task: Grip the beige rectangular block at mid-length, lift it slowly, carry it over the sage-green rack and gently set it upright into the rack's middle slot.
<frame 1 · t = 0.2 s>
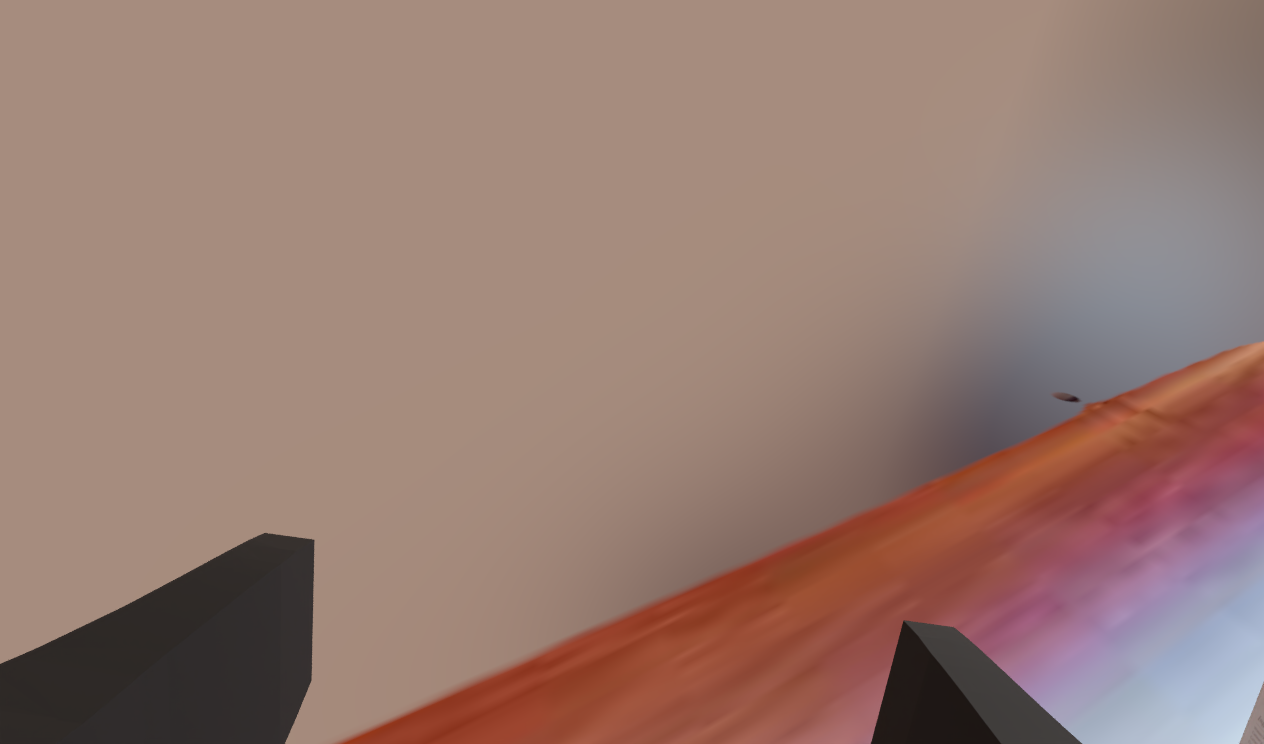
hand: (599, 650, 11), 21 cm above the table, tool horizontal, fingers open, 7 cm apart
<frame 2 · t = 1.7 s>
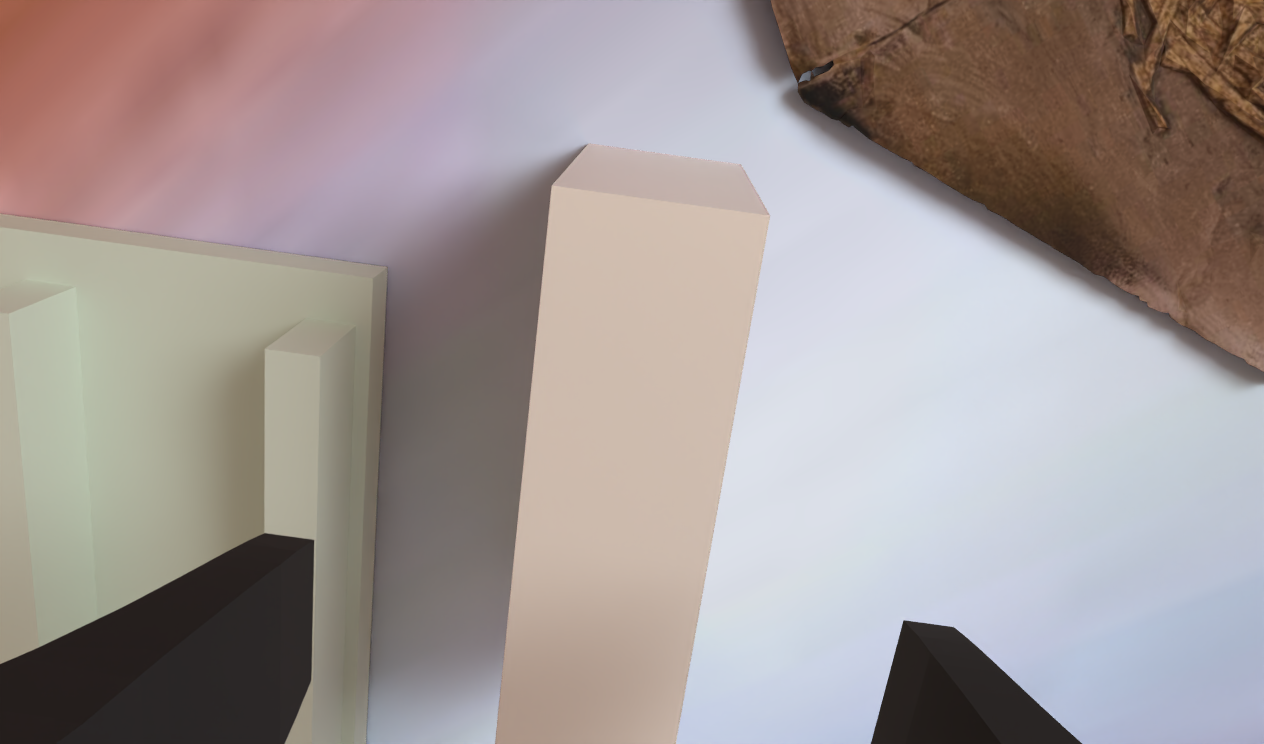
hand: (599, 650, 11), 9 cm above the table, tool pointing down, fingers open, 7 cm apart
beige rectangular block: (632, 390, 20), on the table
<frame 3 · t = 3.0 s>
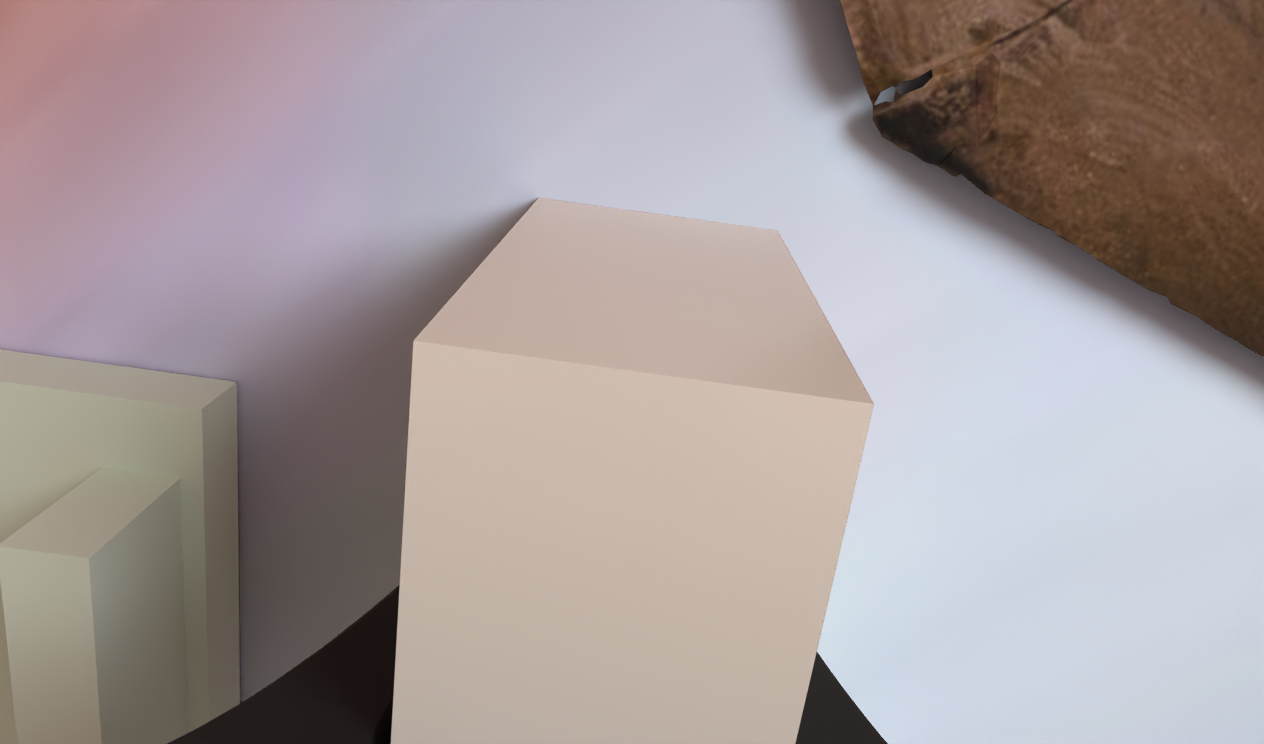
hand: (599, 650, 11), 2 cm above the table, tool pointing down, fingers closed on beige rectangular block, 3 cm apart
beige rectangular block: (609, 563, 13), on the table, touching gripper
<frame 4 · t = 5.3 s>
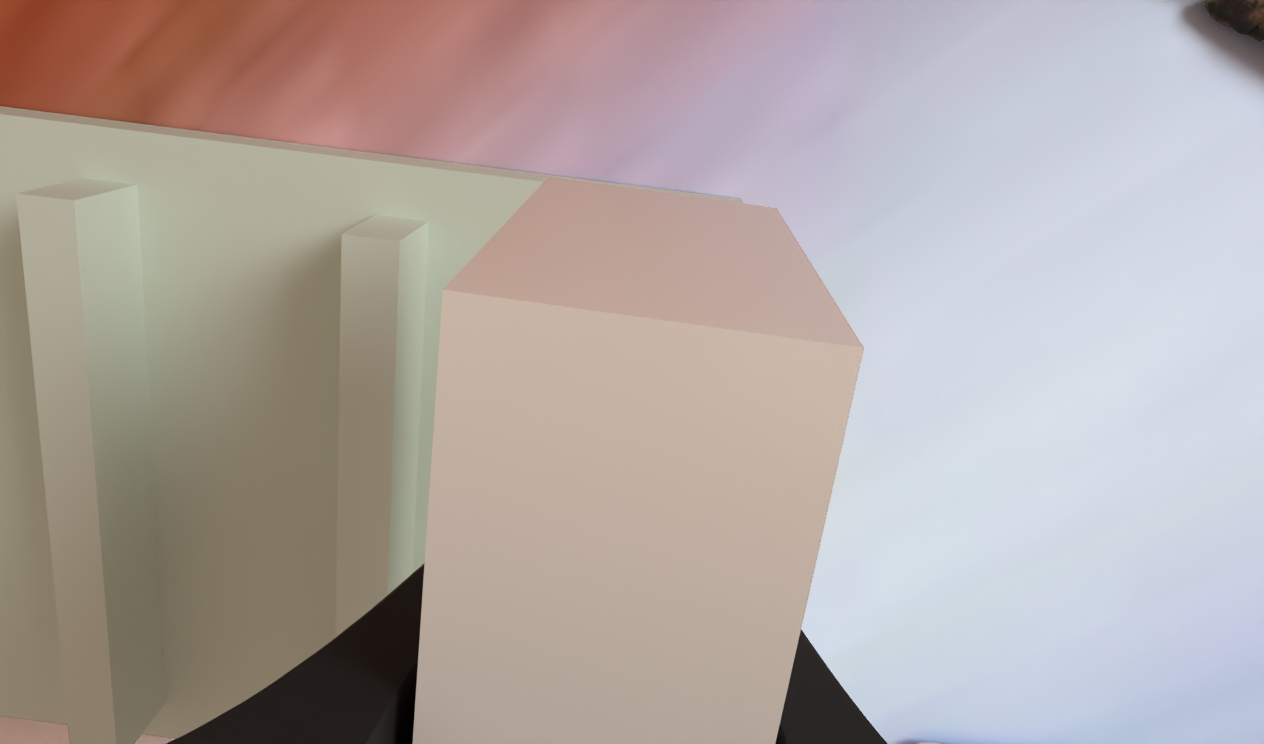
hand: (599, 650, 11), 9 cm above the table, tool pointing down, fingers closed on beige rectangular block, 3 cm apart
beige rectangular block: (615, 529, 14), point 6 cm above the table, touching gripper
rack: (279, 462, 21), on the table
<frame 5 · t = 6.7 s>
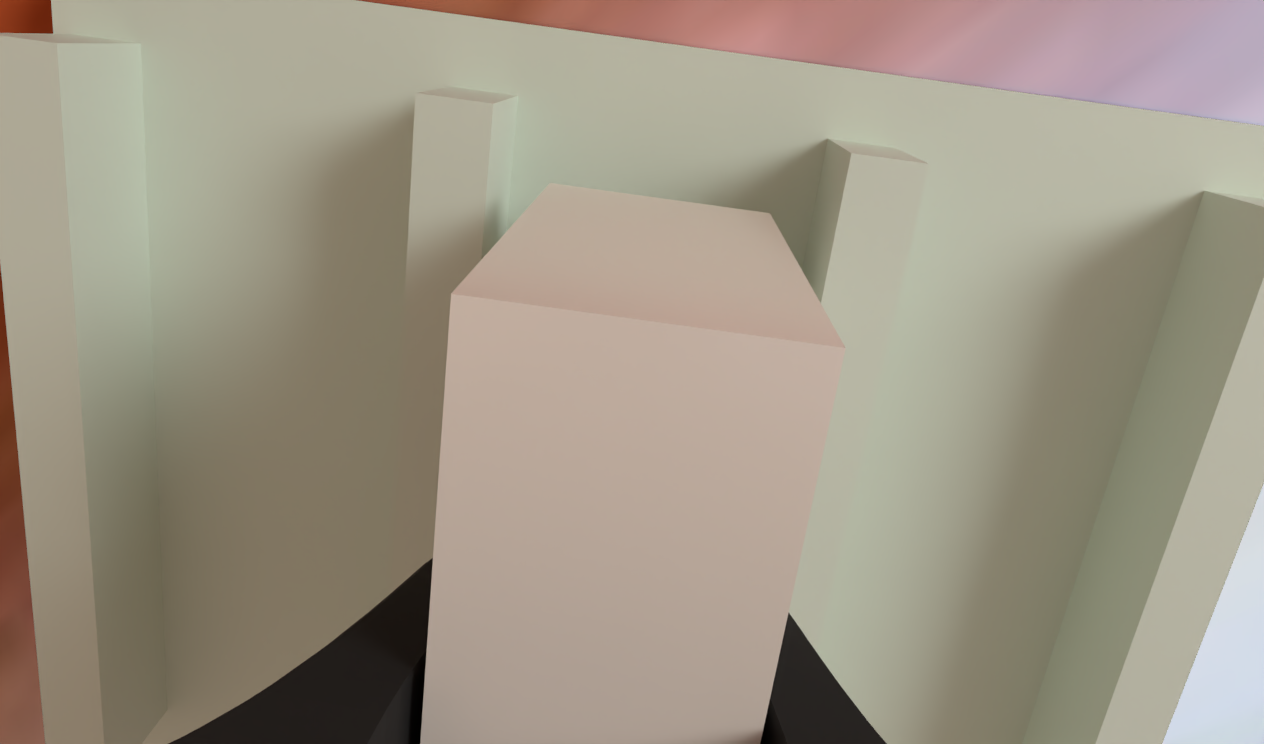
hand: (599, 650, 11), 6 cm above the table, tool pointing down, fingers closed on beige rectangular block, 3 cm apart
beige rectangular block: (614, 524, 14), point 3 cm above the table, touching gripper
rack: (624, 457, 17), on the table
when the fingers open (4 cm above the table, at t = 7.7 s): beige rectangular block stays where it is, resting on rack.
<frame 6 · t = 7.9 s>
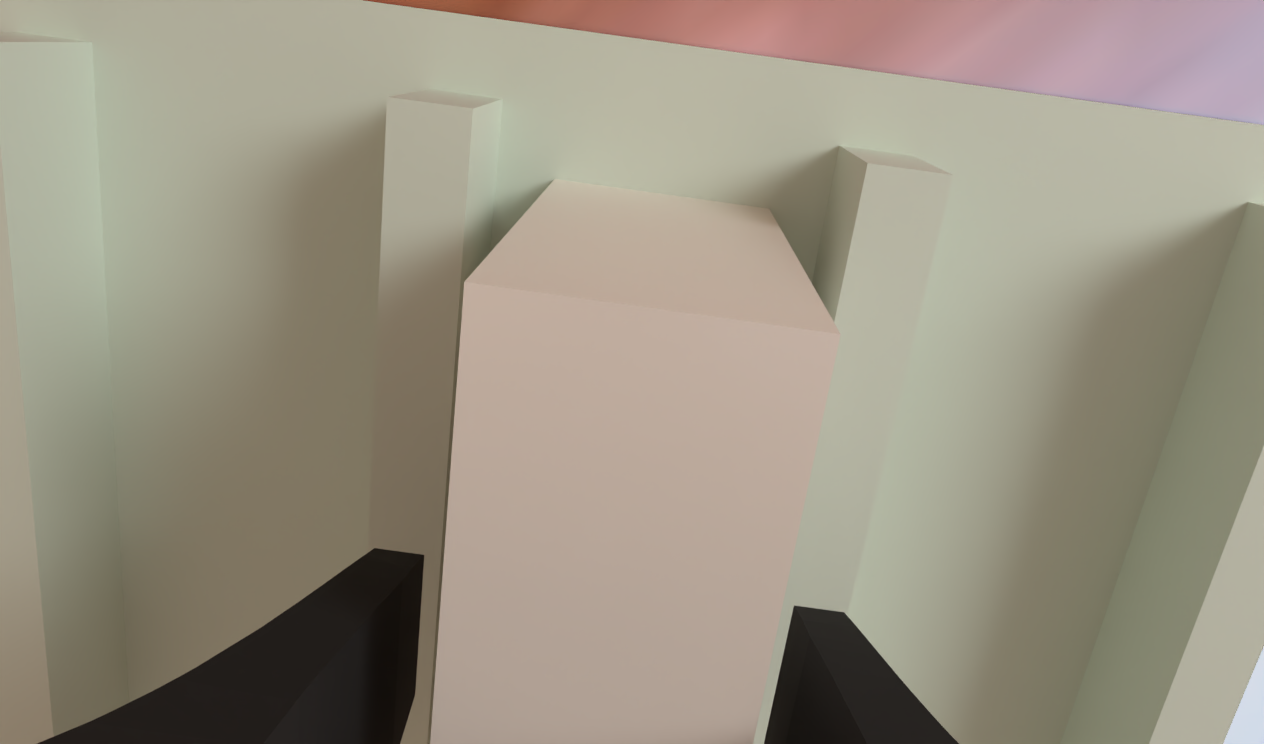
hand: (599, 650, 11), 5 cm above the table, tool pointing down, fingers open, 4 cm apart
beige rectangular block: (617, 512, 15), point 1 cm above the table, touching rack
rack: (619, 486, 16), on the table
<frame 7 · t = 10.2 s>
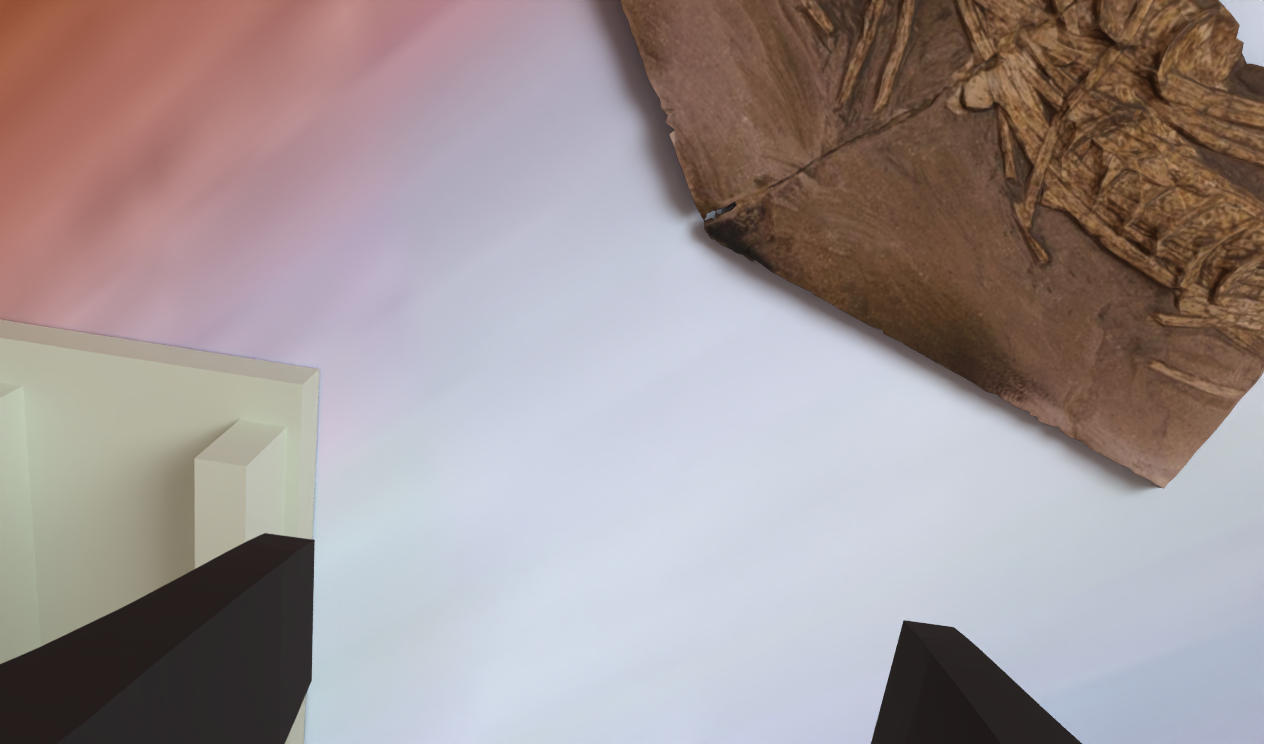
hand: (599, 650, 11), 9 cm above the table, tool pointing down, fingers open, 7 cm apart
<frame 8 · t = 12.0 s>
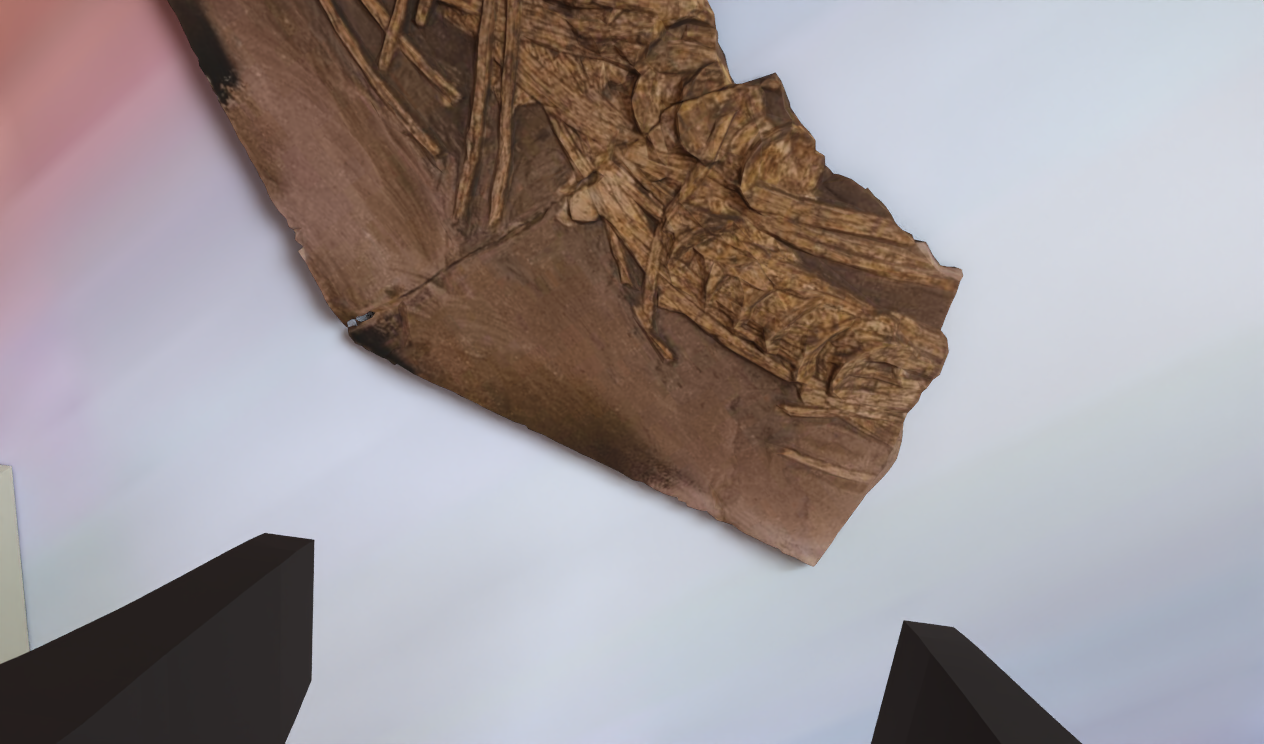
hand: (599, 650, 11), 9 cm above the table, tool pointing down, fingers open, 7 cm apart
wooden fragment: (473, 66, 19), on the table
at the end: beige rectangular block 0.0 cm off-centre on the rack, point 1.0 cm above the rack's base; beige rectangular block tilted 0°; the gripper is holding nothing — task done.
